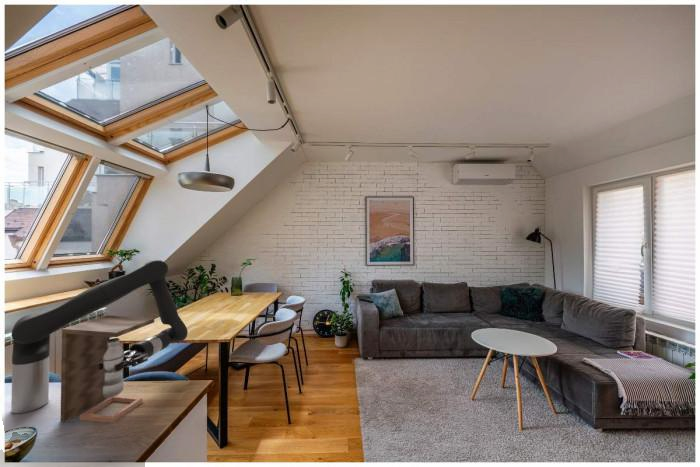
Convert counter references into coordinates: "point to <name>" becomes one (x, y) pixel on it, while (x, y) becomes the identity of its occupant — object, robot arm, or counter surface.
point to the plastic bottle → (112, 369)
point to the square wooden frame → (105, 418)
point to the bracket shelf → (88, 359)
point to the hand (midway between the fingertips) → (107, 367)
